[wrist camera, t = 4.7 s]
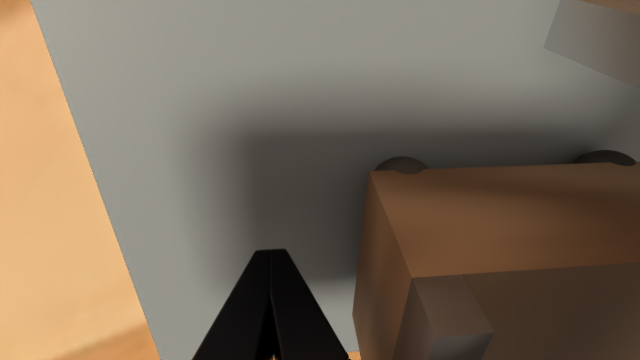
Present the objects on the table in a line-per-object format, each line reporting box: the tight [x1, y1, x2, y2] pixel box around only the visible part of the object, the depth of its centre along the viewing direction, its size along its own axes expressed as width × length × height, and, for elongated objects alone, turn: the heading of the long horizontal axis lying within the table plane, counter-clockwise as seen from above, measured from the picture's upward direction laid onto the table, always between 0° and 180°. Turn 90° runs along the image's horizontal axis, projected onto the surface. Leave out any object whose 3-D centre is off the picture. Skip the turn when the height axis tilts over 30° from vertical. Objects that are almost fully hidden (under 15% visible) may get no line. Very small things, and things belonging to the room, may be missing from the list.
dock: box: [30, 0, 640, 360], centre depth 10 cm, size 20×12×3 cm, turn 88°
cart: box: [352, 150, 640, 360], centre depth 9 cm, size 7×5×5 cm
